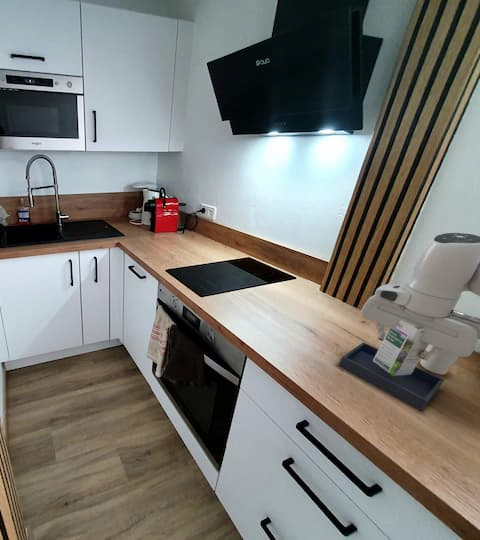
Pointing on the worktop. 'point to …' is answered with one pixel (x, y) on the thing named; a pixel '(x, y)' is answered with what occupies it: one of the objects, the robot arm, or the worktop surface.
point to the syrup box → (401, 349)
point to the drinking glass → (439, 361)
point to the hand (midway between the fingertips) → (401, 348)
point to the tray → (392, 377)
